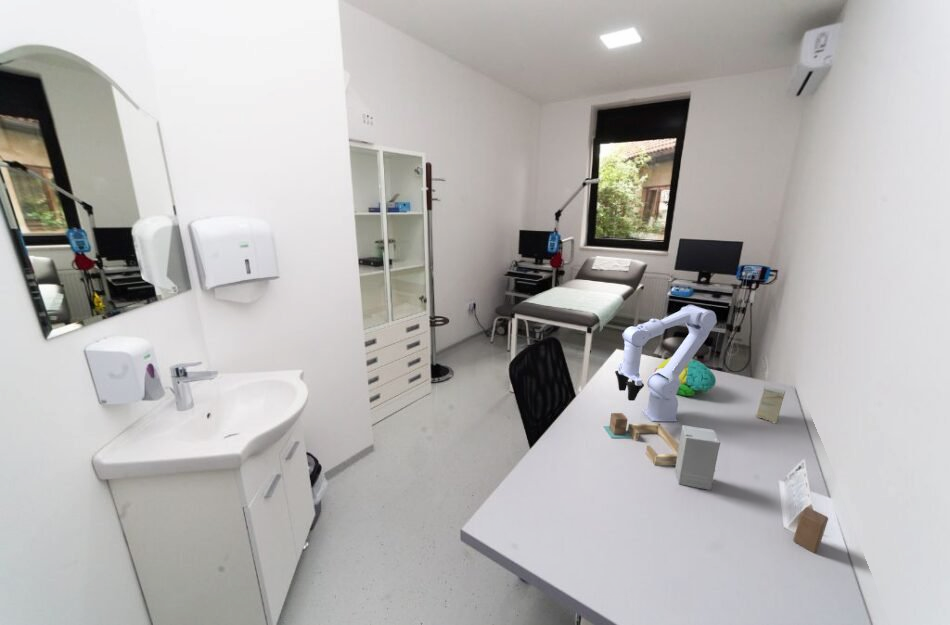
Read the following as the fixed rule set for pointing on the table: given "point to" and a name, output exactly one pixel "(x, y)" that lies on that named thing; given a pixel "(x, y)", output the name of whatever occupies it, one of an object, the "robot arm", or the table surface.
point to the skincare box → (697, 457)
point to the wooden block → (810, 529)
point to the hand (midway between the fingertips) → (626, 395)
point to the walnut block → (618, 424)
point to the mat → (616, 435)
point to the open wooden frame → (653, 456)
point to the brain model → (693, 378)
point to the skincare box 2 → (770, 403)
